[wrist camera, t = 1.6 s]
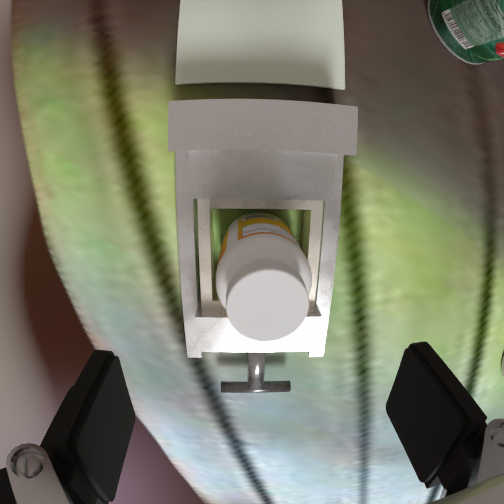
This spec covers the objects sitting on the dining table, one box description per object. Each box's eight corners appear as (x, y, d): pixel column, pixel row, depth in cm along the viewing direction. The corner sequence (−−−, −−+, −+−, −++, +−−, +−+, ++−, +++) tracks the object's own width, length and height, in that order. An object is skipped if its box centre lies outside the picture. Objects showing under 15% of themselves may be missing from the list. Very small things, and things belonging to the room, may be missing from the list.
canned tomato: (438, -24, 16) (506, -67, 6) (496, 28, 18) (572, 9, 7) (415, 25, 18) (497, -18, 8) (480, 81, 20) (569, 72, 9)
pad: (336, -37, 17) (338, -39, 16) (343, 89, 21) (344, 88, 20) (186, -43, 16) (185, -46, 16) (176, 84, 20) (175, 83, 20)
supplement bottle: (254, 292, 25) (261, 370, 16) (207, 243, 24) (186, 304, 15) (307, 248, 24) (345, 310, 15) (262, 195, 23) (275, 229, 14)
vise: (340, 113, 21) (362, 107, 17) (316, 376, 28) (325, 409, 24) (178, 109, 21) (163, 101, 16) (192, 377, 28) (186, 411, 24)
